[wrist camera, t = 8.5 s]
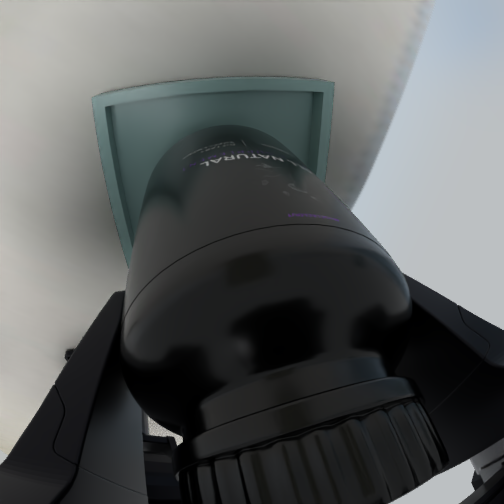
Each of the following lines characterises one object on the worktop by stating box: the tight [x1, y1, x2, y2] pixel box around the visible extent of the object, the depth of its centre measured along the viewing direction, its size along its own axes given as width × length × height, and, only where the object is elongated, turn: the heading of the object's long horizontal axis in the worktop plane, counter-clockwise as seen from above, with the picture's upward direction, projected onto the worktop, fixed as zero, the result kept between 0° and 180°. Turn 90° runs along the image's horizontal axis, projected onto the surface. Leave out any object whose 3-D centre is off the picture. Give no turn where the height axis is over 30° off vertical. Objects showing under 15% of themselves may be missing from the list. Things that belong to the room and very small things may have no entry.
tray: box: [92, 76, 334, 268], centre depth 14 cm, size 10×10×2 cm
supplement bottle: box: [120, 125, 450, 504], centre depth 8 cm, size 7×7×12 cm
